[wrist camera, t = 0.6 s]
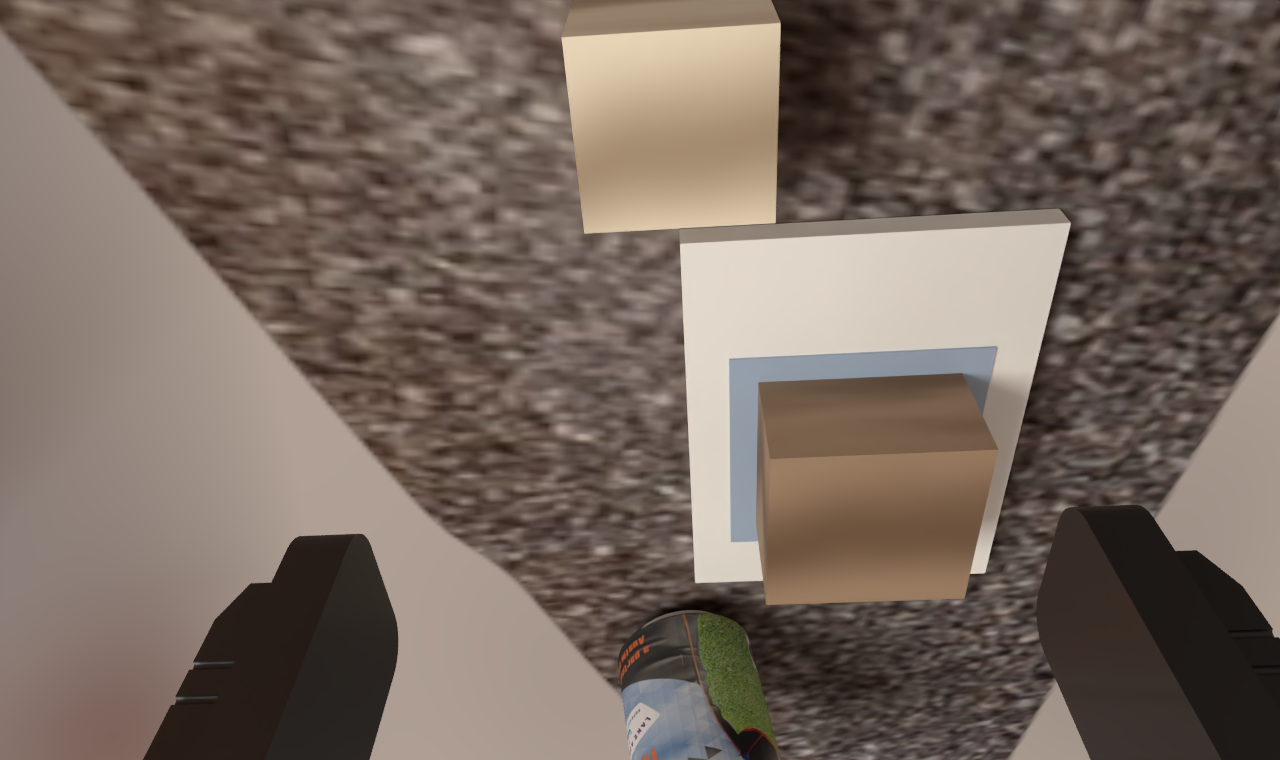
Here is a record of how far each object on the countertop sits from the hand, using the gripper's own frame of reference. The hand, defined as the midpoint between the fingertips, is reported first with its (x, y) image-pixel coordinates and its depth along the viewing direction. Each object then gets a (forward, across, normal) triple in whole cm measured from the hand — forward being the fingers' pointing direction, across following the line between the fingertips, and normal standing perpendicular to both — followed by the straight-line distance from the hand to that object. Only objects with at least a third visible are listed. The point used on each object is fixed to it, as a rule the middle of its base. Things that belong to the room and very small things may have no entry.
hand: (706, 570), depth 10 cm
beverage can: (+20, 0, +26) cm, 32 cm away
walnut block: (+18, -6, +14) cm, 23 cm away
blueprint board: (+19, -6, +13) cm, 24 cm away
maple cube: (+19, 0, 0) cm, 19 cm away
